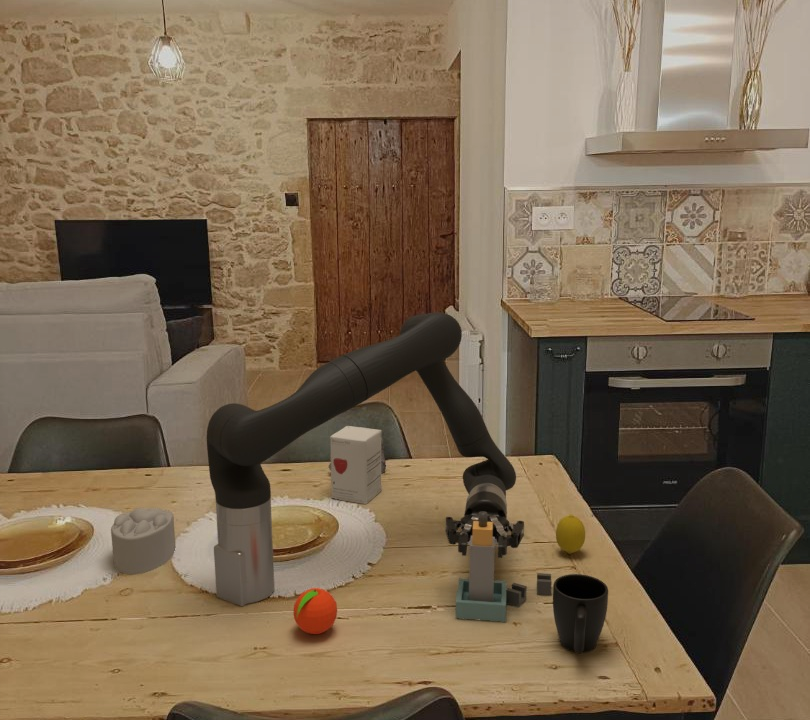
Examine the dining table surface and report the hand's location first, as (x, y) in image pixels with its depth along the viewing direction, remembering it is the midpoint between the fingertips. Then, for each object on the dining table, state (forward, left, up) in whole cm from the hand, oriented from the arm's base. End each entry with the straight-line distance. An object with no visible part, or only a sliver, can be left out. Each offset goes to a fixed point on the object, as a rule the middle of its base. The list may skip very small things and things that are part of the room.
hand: (482, 551), depth 130 cm
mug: (-1, -17, -12) cm, 21 cm away
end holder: (+2, +1, -11) cm, 12 cm away
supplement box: (+31, +48, -12) cm, 59 cm away
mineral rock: (+44, +56, -12) cm, 73 cm away
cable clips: (+10, -4, -11) cm, 16 cm away
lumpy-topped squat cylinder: (-16, +64, -12) cm, 67 cm away
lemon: (+29, -4, -12) cm, 32 cm away
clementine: (-19, +20, -12) cm, 30 cm away
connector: (+2, +1, -10) cm, 11 cm away
